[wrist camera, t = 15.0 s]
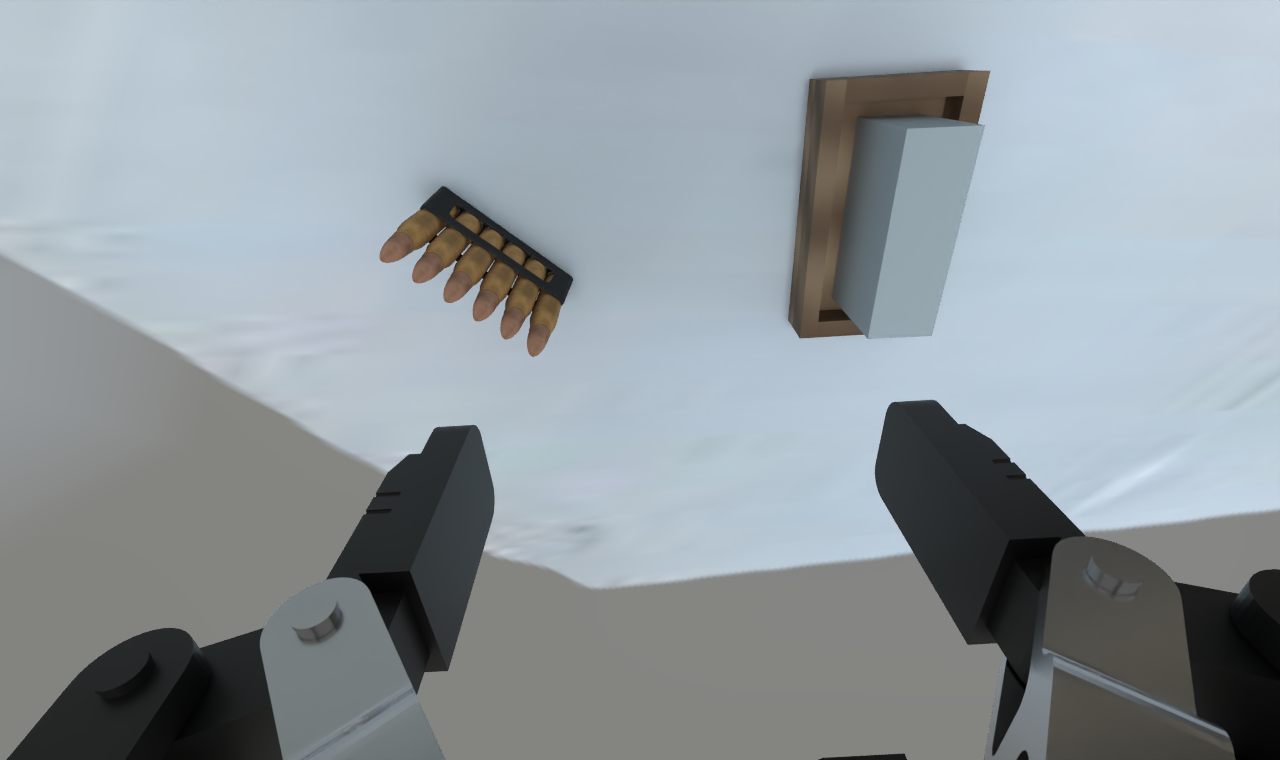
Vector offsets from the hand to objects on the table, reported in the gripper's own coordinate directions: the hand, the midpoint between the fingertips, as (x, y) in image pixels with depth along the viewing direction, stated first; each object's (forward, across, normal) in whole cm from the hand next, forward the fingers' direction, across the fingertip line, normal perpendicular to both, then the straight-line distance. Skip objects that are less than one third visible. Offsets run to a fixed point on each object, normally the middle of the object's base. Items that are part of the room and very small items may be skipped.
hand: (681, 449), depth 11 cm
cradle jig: (+30, -16, +3) cm, 34 cm away
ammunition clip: (+30, +10, +4) cm, 32 cm away
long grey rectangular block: (+29, -16, +3) cm, 33 cm away
